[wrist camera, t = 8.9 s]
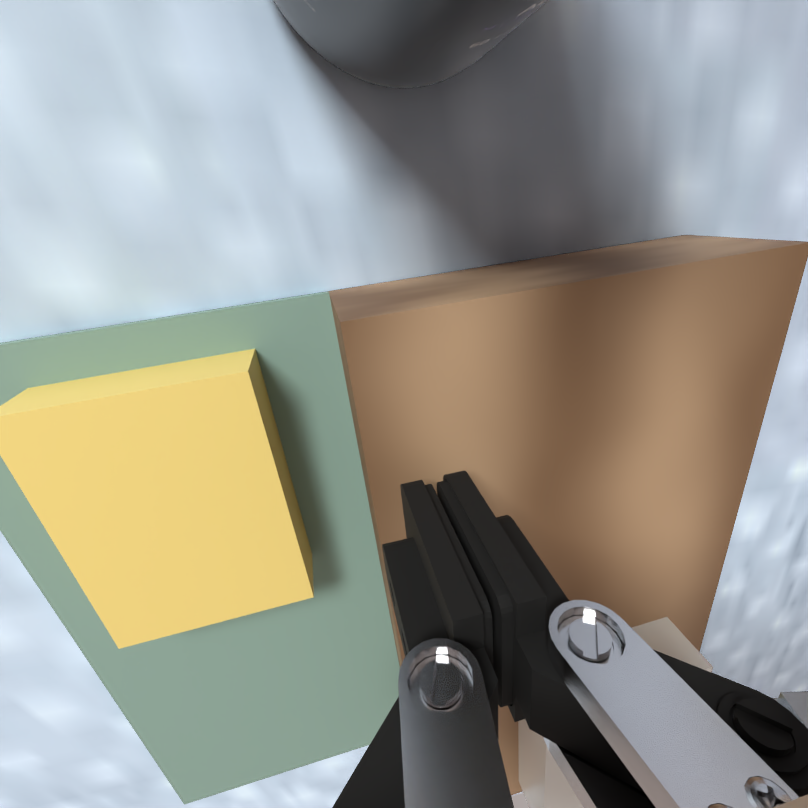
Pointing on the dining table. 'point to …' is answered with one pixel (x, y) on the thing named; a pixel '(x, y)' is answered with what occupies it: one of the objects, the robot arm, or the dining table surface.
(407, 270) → the dining table surface
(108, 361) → the mat
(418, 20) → the supplement bottle
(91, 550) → the yellow rectangular block
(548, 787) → the white flat block
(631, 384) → the board
